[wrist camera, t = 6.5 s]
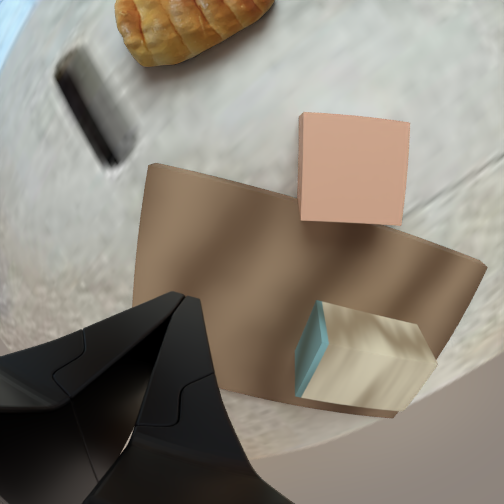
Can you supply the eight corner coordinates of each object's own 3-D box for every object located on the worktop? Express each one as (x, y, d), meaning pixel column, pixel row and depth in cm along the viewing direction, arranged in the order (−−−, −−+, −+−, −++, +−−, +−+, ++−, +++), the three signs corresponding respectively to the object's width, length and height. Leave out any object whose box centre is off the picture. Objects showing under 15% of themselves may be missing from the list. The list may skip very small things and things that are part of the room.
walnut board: (480, 260, 19) (487, 267, 18) (390, 409, 26) (393, 418, 24) (155, 162, 19) (148, 165, 18) (135, 351, 25) (130, 359, 24)
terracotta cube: (380, 123, 17) (409, 122, 12) (375, 201, 19) (400, 225, 14) (299, 116, 18) (303, 112, 13) (297, 197, 19) (300, 220, 15)
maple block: (316, 300, 20) (416, 324, 20) (294, 351, 22) (389, 369, 22) (321, 342, 16) (437, 364, 16) (294, 396, 18) (403, 411, 18)
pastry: (256, -47, 13) (250, -75, 10) (290, 32, 16) (292, 12, 12) (125, 3, 15) (98, -13, 12) (149, 81, 18) (121, 75, 14)
